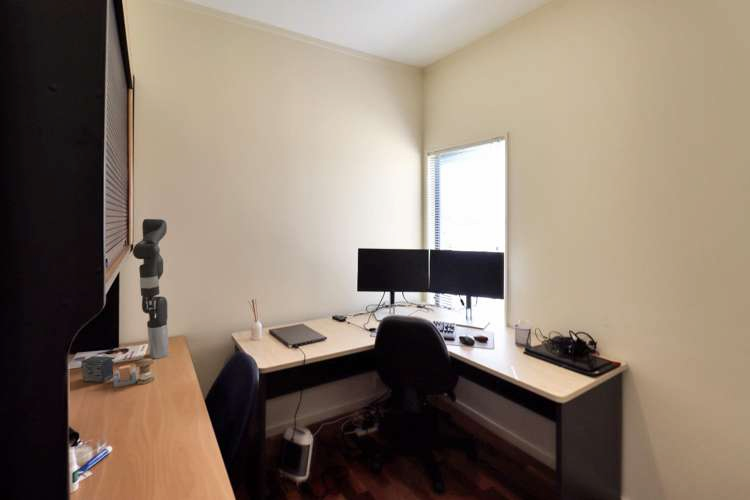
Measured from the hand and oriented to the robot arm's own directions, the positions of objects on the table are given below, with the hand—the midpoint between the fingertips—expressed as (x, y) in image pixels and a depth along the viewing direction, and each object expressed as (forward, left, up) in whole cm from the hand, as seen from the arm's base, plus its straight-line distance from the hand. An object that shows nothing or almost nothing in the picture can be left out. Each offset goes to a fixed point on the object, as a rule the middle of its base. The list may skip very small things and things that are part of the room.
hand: (152, 318), depth 173 cm
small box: (-8, -24, -29) cm, 38 cm away
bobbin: (+5, -5, -28) cm, 29 cm away
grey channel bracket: (+1, -13, -28) cm, 31 cm away
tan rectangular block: (+1, -13, -27) cm, 30 cm away
